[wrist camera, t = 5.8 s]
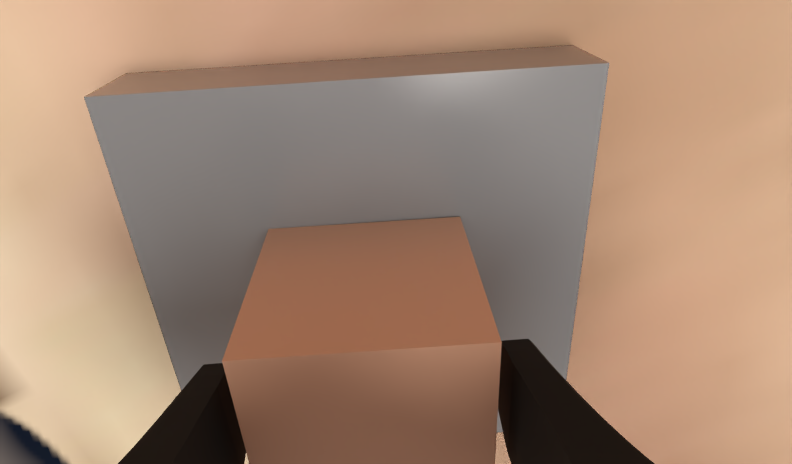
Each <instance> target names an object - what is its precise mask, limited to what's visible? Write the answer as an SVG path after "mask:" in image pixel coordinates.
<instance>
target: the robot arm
mask: <svg viewBox="0 0 792 464" xmlns="http://www.w3.org/2000/svg"><path fill="white" fill-rule="evenodd" d="M501 342H502V346H501V363H500V381H499V398H498V411H499V416H500V420H501V425H502V430H503V434H504V439H505V443H506V447H507V452H508V455H509V458H510V461H511V464H654V463H653V462H652V461H650V460H649V459H648V458H647V457H646V456H644V455H643V454H642V453H641V452H640V451H639V450H637V449H636V448H635V447H634V446H633V445H632V444H631V443H629V442H628V441H627V440H626V439H625V438H624V437H623V436H622V435H621V434H619V433H618V432H617V431H616V430H615V429H614V428H613V427H612V426H611V425H610V424H609V423H608V422H606V421H605V420H604V419H603V418H602V417H601V416H600V415H599V414H598V413H597V412H596V411H595V410H594V409H593V408H592V407H591V406H590V405H589V404H588V403H587V402H586V401H585V400H584V399H583V398H582V397H581V396H580V395H579V394H578V393H577V392H576V391H575V389H574V388H573V387H572V386H571V385H570V384H569V383H568V382H567V381H566V380H565V379H564V378H563V377H562V375H561V374H560V373H559V372H558V371H557V370H556V369H555V368H554V367H553V365H552V364H551V363H550V362H549V361H548V360H547V359H546V357H545V356H544V355H543V354H542V353H541V352H540V350H539V349H538V348H537V347H536V346H535V345H534V343H533V342H532V341H530V340H529V339H516V340H504V341H501ZM245 455H246V449H245V445H244V441H243V438H242V434H241V430H240V427H239V423H238V419H237V415H236V412H235V408H234V404H233V400H232V397H231V393H230V389H229V386H228V382H227V378H226V374H225V371H224V367H223V363H216V364H204V365H203V366H202V367H201V368H200V369H199V370H198V372H197V373H196V374H195V375H194V376H193V377H192V379H191V380H190V381H189V382H188V383H187V385H186V386H185V387H184V388H183V390H182V391H181V392H180V393H179V394H178V396H177V397H176V398H175V399H174V400H173V402H172V403H171V404H170V405H169V406H168V408H167V409H166V410H165V411H164V412H163V414H162V415H161V416H160V417H159V418H158V419H157V421H156V422H155V423H154V424H153V425H152V426H151V428H150V429H149V430H148V431H147V432H146V433H145V434H144V436H143V437H142V438H141V439H140V440H139V441H138V443H137V444H136V445H135V446H134V447H133V448H132V449H131V450H130V451H129V452H128V454H127V455H126V456H125V457H124V458H123V459H122V460H121V461H120V462H119V463H118V464H244V461H245Z"/></svg>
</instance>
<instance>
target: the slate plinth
mask: <svg viewBox="0 0 792 464" xmlns="http://www.w3.org/2000/svg"><path fill="white" fill-rule="evenodd" d="M608 68H609V63H608V62H606V61H604V60H602V59H600V58H598V57H596V56H594V55H592V54H590V53H588V52H586V51H584V50H582V49H580V48H578V47H576V46H574V45H566V46H550V47H534V48H519V49H503V50H487V51H471V52H456V53H440V54H424V55H408V56H392V57H377V58H361V59H345V60H329V61H314V62H298V63H282V64H266V65H251V66H235V67H219V68H203V69H188V70H172V71H156V72H140V73H126V74H124V75H122V76H121V77H119V78H117V79H115V80H114V81H112V82H110V83H108V84H106V85H105V86H103V87H101V88H99V89H97V90H96V91H94V92H92V93H90V94H88V95H87V96H85V97H84V99H85V102H86V105H87V108H88V111H89V114H90V117H91V120H92V123H93V126H94V129H95V132H96V135H97V138H98V141H99V144H100V147H101V150H102V153H103V156H104V159H105V162H106V165H107V168H108V171H109V174H110V177H111V180H112V183H113V186H114V189H115V192H116V195H117V198H118V201H119V204H120V207H121V210H122V213H123V216H124V219H125V222H126V225H127V228H128V231H129V234H130V237H131V240H132V243H133V246H134V249H135V252H136V255H137V259H138V262H139V265H140V268H141V271H142V274H143V277H144V280H145V283H146V286H147V289H148V292H149V295H150V298H151V301H152V304H153V307H154V310H155V313H156V316H157V319H158V322H159V325H160V328H161V331H162V334H163V337H164V340H165V343H166V346H167V349H168V352H169V355H170V358H171V361H172V364H173V367H174V370H175V373H176V376H177V379H178V382H179V385H180V388H181V391H182V390H183V388H184V387H185V386H186V385H187V383H188V382H189V381H190V380H191V379H192V377H193V376H194V375H195V374H196V373H197V372H198V370H199V369H200V368H201V367H202V366H203V365H204V364H216V363H222V360H223V357H224V354H225V351H226V348H227V345H228V343H229V340H230V337H231V334H232V331H233V328H234V326H235V323H236V320H237V317H238V314H239V311H240V309H241V306H242V303H243V300H244V297H245V294H246V291H247V289H248V286H249V283H250V280H251V277H252V274H253V272H254V269H255V266H256V263H257V260H258V257H259V255H260V252H261V249H262V246H263V243H264V240H265V238H266V235H267V232H268V229H275V228H291V227H306V226H322V225H337V224H353V223H369V222H384V221H400V220H415V219H431V218H447V217H460V218H461V221H462V224H463V227H464V230H465V233H466V236H467V239H468V242H469V245H470V248H471V251H472V254H473V257H474V260H475V263H476V266H477V269H478V272H479V275H480V278H481V281H482V284H483V287H484V290H485V293H486V296H487V299H488V302H489V305H490V308H491V311H492V314H493V317H494V320H495V323H496V327H497V330H498V333H499V336H500V339H501V341H504V340H516V339H529V340H530V341H532V342H533V343H534V345H535V346H536V347H537V348H538V349H539V350H540V352H541V353H542V354H543V355H544V356H545V357H546V359H547V360H548V361H549V362H550V363H551V364H552V365H553V367H554V368H555V369H556V370H557V371H558V372H559V373H560V374H561V375H562V377H563V378H564V379H565V380H566V378H567V370H568V363H569V355H570V348H571V341H572V333H573V326H574V319H575V311H576V304H577V296H578V289H579V282H580V274H581V267H582V260H583V252H584V245H585V237H586V230H587V223H588V215H589V208H590V201H591V193H592V186H593V178H594V171H595V164H596V156H597V149H598V142H599V134H600V127H601V119H602V112H603V105H604V97H605V90H606V83H607V75H608ZM497 432H503V430H502V425H501V420H500V416H499V411H498V416H497Z"/></svg>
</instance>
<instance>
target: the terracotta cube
mask: <svg viewBox="0 0 792 464" xmlns="http://www.w3.org/2000/svg"><path fill="white" fill-rule="evenodd" d="M501 346H502V342H501V339H500V336H499V333H498V330H497V327H496V323H495V320H494V317H493V314H492V311H491V308H490V305H489V302H488V299H487V296H486V293H485V290H484V287H483V284H482V281H481V278H480V275H479V272H478V269H477V266H476V263H475V260H474V257H473V254H472V251H471V248H470V245H469V242H468V239H467V236H466V233H465V230H464V227H463V224H462V221H461V218H460V217H447V218H431V219H415V220H400V221H384V222H369V223H353V224H337V225H322V226H306V227H291V228H275V229H268V232H267V235H266V238H265V240H264V243H263V246H262V249H261V252H260V255H259V257H258V260H257V263H256V266H255V269H254V272H253V274H252V277H251V280H250V283H249V286H248V289H247V291H246V294H245V297H244V300H243V303H242V306H241V309H240V311H239V314H238V317H237V320H236V323H235V326H234V328H233V331H232V334H231V337H230V340H229V343H228V345H227V348H226V351H225V354H224V357H223V360H222V363H223V367H224V371H225V374H226V378H227V382H228V386H229V389H230V393H231V397H232V400H233V404H234V408H235V412H236V415H237V419H238V423H239V427H240V430H241V434H242V438H243V441H244V445H245V449H246V453H247V456H248V460H249V464H495V451H496V433H497V416H498V398H499V381H500V363H501Z"/></svg>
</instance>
